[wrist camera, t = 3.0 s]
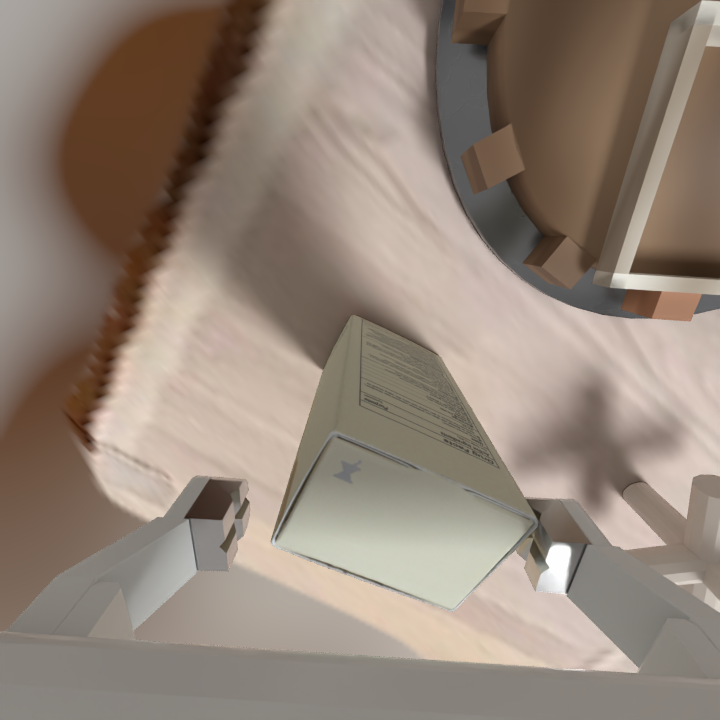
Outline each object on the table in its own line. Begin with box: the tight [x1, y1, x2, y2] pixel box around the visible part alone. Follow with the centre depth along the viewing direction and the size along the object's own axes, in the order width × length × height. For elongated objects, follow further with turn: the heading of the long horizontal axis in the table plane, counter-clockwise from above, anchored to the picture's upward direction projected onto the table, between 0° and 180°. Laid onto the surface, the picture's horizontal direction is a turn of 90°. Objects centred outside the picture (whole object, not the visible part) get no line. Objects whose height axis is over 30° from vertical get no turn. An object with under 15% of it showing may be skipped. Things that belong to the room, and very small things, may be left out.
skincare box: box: [271, 315, 538, 612], centre depth 14 cm, size 6×4×12 cm
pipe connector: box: [623, 475, 720, 612], centre depth 18 cm, size 10×10×10 cm
